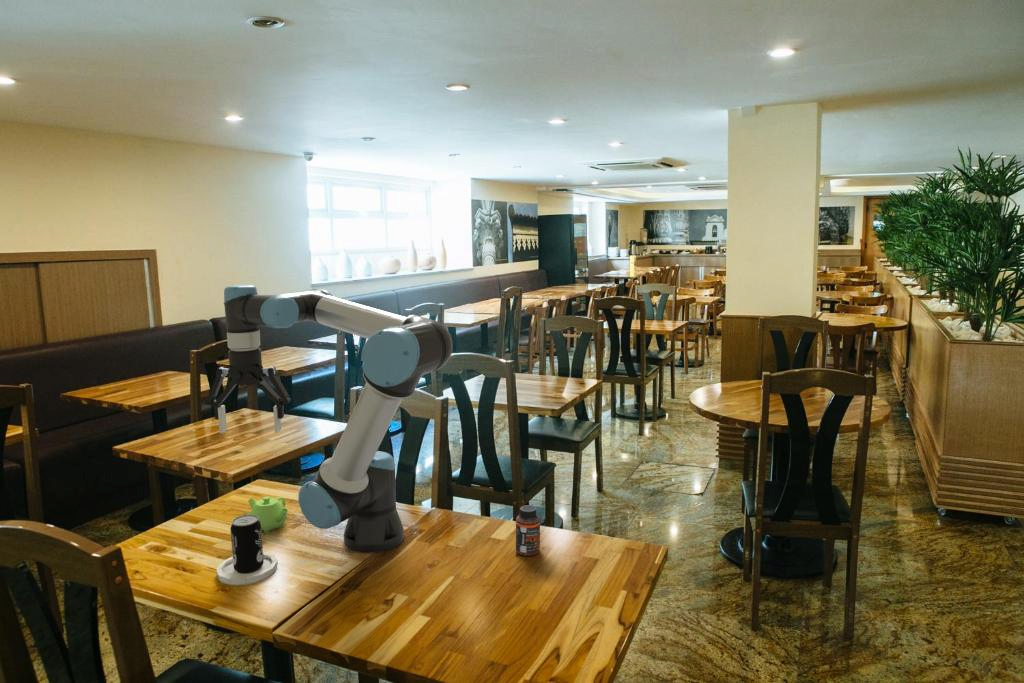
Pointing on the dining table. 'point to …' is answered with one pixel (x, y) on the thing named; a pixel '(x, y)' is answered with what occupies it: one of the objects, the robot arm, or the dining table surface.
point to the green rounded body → (269, 512)
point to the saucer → (234, 578)
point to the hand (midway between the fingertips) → (250, 431)
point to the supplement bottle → (527, 531)
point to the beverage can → (247, 544)
